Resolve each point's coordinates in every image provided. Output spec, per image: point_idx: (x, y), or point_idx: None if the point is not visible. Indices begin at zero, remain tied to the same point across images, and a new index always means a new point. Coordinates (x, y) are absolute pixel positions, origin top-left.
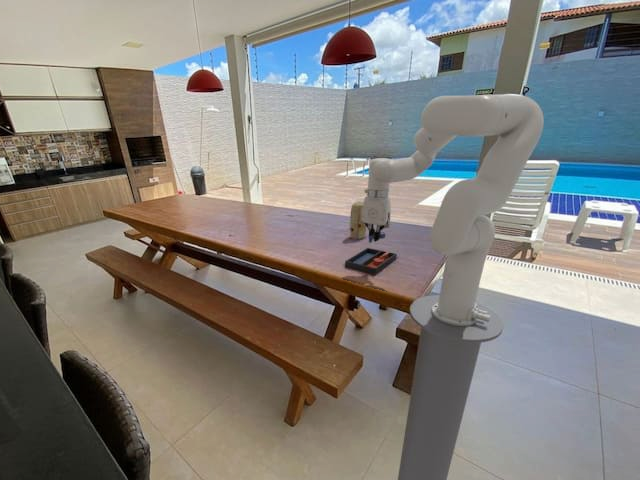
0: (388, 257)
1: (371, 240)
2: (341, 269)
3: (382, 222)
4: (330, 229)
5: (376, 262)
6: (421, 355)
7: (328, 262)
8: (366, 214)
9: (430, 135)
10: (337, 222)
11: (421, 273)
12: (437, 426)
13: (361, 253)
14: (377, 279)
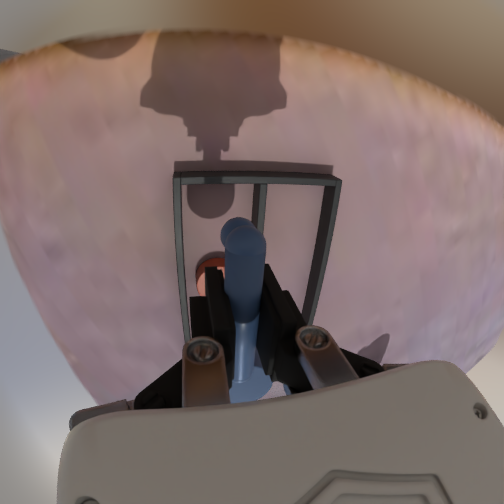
0: None
1: (227, 233)
2: (327, 124)
3: (92, 455)
4: None
5: (218, 263)
6: (16, 54)
7: (394, 167)
8: (465, 468)
9: None
10: None
11: (46, 281)
12: None
13: (310, 300)
14: (134, 115)
